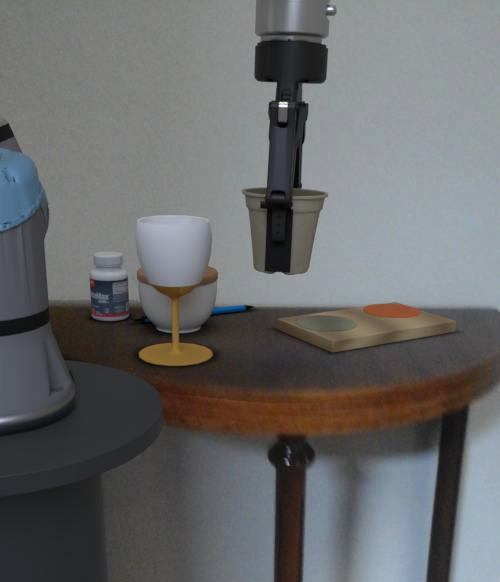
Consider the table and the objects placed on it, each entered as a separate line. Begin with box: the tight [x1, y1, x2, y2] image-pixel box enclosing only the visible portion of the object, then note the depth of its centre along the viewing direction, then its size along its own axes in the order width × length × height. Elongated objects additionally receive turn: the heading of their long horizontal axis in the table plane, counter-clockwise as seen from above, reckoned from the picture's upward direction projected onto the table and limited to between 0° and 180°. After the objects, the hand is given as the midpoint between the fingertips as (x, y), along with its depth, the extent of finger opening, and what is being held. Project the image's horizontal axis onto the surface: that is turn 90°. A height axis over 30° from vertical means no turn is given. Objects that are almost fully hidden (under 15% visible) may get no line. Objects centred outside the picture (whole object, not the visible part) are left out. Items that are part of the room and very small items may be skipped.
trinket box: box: [136, 265, 219, 334], centre depth 111 cm, size 11×11×9 cm
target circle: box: [363, 303, 420, 318], centre depth 117 cm, size 8×8×1 cm
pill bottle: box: [89, 251, 130, 322], centre depth 116 cm, size 5×5×9 cm
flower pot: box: [241, 186, 329, 276], centre depth 92 cm, size 9×9×9 cm
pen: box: [132, 304, 255, 324], centre depth 119 cm, size 1×19×1 cm
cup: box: [135, 214, 214, 367], centre depth 98 cm, size 9×9×16 cm
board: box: [276, 301, 457, 354], centre depth 113 cm, size 21×13×2 cm, turn 121°
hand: (281, 263), depth 94 cm, fingers closed on flower pot, 8 cm apart
